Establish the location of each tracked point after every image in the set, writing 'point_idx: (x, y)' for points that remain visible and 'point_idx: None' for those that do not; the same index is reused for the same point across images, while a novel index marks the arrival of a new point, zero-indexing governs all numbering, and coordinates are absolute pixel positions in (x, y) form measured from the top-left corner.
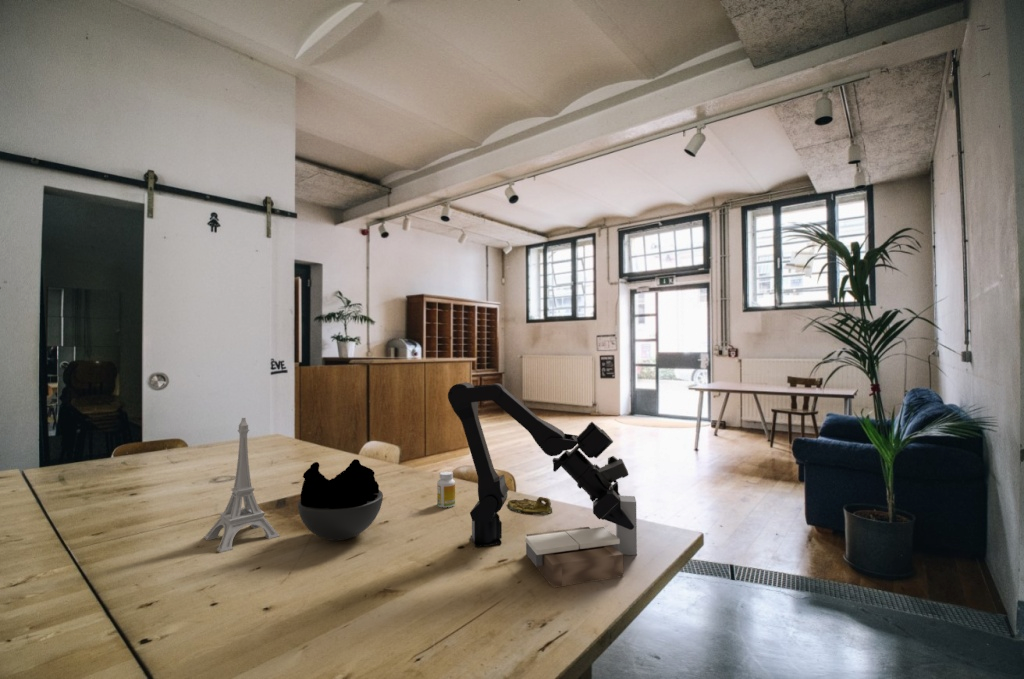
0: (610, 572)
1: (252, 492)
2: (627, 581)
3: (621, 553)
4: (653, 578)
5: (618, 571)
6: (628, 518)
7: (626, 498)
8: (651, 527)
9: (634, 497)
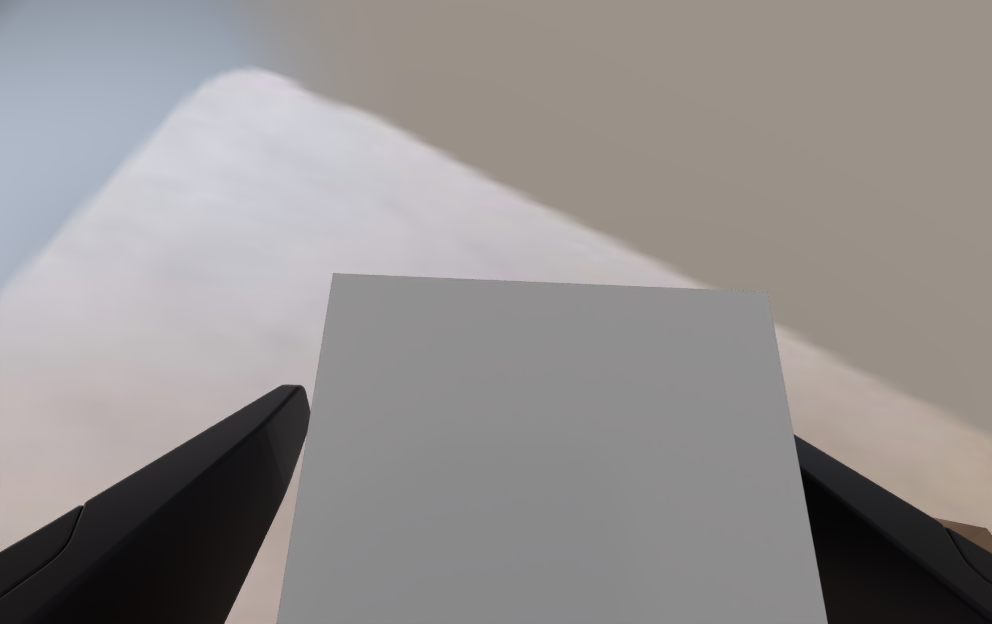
0: None
1: None
2: (881, 478)
3: (978, 539)
4: (800, 342)
5: None
6: (838, 472)
7: (546, 504)
8: (125, 251)
9: (428, 289)
